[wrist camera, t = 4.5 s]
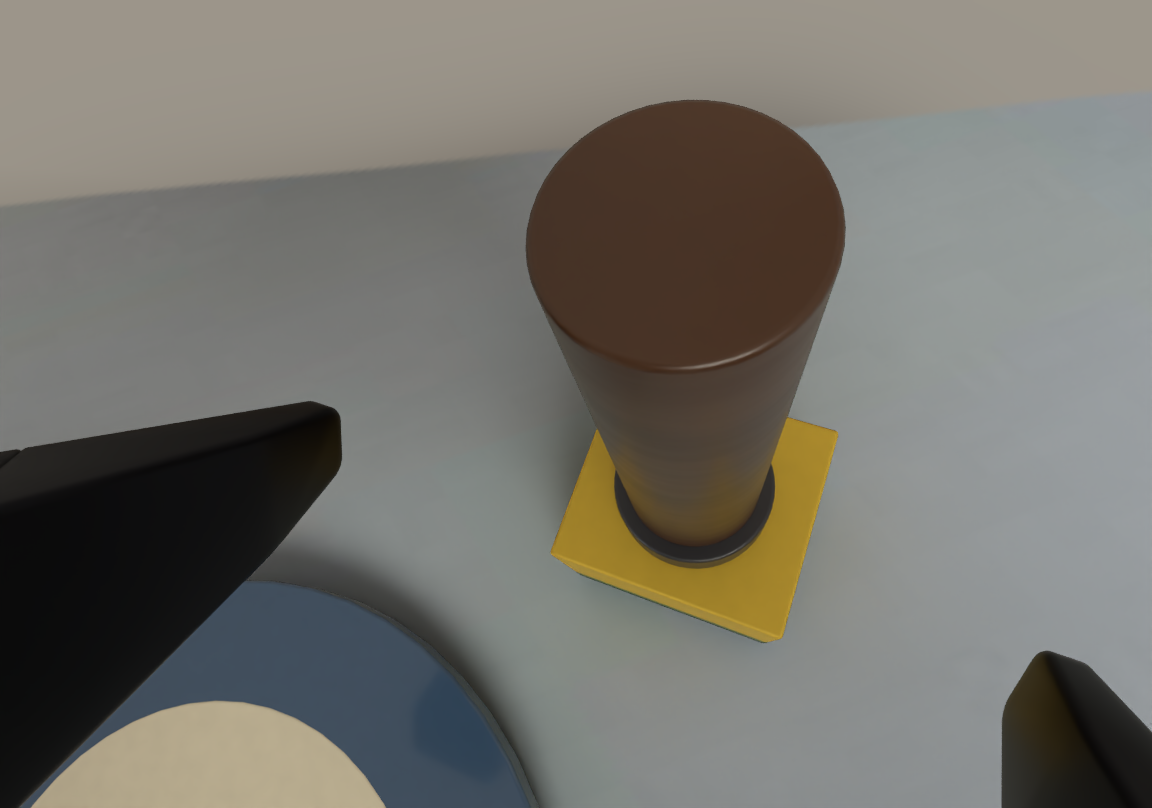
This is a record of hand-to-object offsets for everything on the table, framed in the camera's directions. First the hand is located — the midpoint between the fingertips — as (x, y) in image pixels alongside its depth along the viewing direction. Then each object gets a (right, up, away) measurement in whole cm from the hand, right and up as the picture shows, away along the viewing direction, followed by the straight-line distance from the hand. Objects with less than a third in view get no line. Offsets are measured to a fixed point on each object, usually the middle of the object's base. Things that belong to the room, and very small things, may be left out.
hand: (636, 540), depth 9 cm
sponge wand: (+2, -2, +10) cm, 10 cm away
